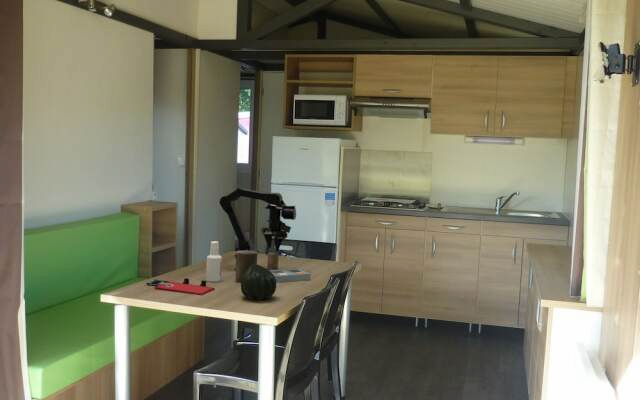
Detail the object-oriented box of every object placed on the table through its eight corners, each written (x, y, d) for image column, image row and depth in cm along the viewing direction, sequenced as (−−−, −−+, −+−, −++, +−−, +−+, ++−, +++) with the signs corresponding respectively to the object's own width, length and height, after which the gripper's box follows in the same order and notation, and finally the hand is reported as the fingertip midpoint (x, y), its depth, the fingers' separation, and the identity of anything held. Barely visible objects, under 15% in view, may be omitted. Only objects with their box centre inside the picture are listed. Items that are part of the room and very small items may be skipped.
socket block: (276, 282, 274) (276, 275, 274) (264, 276, 286) (265, 269, 285) (310, 280, 283) (310, 273, 283) (297, 274, 295) (298, 267, 294)
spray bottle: (223, 280, 274) (225, 241, 273) (215, 282, 268) (216, 243, 267) (211, 278, 277) (213, 240, 276) (203, 280, 271) (204, 241, 269)
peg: (270, 274, 292) (271, 254, 291) (267, 272, 296) (267, 252, 295) (277, 273, 294) (278, 253, 293) (274, 272, 298) (275, 252, 297)
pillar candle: (252, 284, 269) (254, 251, 268) (232, 281, 271) (233, 249, 270) (258, 279, 279) (260, 248, 278) (239, 278, 281) (240, 246, 280)
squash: (288, 287, 243) (272, 256, 249) (261, 293, 232) (244, 261, 238) (270, 304, 251) (254, 274, 257) (243, 311, 240) (228, 280, 246)
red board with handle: (158, 280, 268) (139, 288, 253) (158, 274, 267) (139, 281, 253) (218, 289, 259) (202, 297, 245) (218, 282, 259) (202, 290, 245)
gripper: (297, 220, 288) (296, 252, 290) (281, 215, 305) (280, 245, 306) (277, 220, 283) (275, 253, 284) (261, 216, 299) (260, 246, 300)
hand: (273, 249), depth 294 cm, fingers open, 9 cm apart
